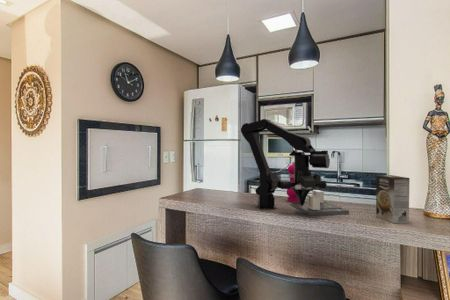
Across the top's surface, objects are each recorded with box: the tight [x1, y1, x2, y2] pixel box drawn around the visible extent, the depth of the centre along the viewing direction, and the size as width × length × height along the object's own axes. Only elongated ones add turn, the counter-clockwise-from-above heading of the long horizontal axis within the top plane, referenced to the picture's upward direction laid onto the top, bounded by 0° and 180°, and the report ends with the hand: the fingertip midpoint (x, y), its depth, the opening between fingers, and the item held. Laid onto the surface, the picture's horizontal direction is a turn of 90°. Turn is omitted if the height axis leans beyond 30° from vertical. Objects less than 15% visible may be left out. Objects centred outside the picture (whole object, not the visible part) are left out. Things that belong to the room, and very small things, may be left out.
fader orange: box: [306, 194, 320, 210], centre depth 103 cm, size 3×5×5 cm, turn 7°
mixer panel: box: [289, 200, 350, 217], centre depth 109 cm, size 17×20×2 cm
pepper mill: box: [286, 160, 298, 203], centre depth 126 cm, size 7×7×20 cm
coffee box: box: [375, 174, 411, 224], centre depth 93 cm, size 9×6×16 cm
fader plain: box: [311, 189, 325, 203], centre depth 116 cm, size 3×5×5 cm, turn 7°
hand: (301, 205), depth 102 cm, fingers closed
